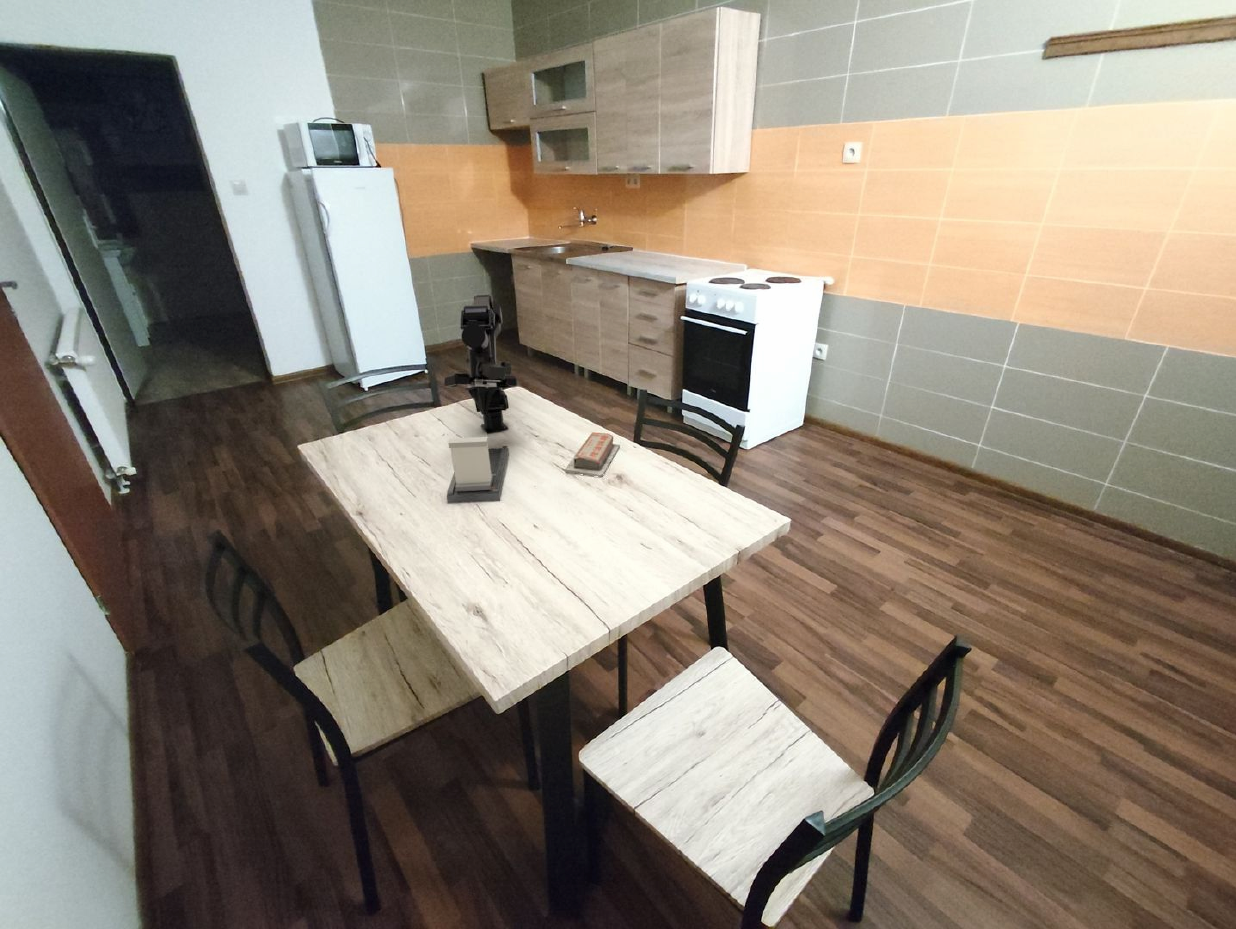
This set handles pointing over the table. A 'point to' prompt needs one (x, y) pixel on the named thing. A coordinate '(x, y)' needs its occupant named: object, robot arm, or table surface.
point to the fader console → (498, 471)
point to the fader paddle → (471, 463)
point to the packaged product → (593, 455)
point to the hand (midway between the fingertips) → (484, 414)
